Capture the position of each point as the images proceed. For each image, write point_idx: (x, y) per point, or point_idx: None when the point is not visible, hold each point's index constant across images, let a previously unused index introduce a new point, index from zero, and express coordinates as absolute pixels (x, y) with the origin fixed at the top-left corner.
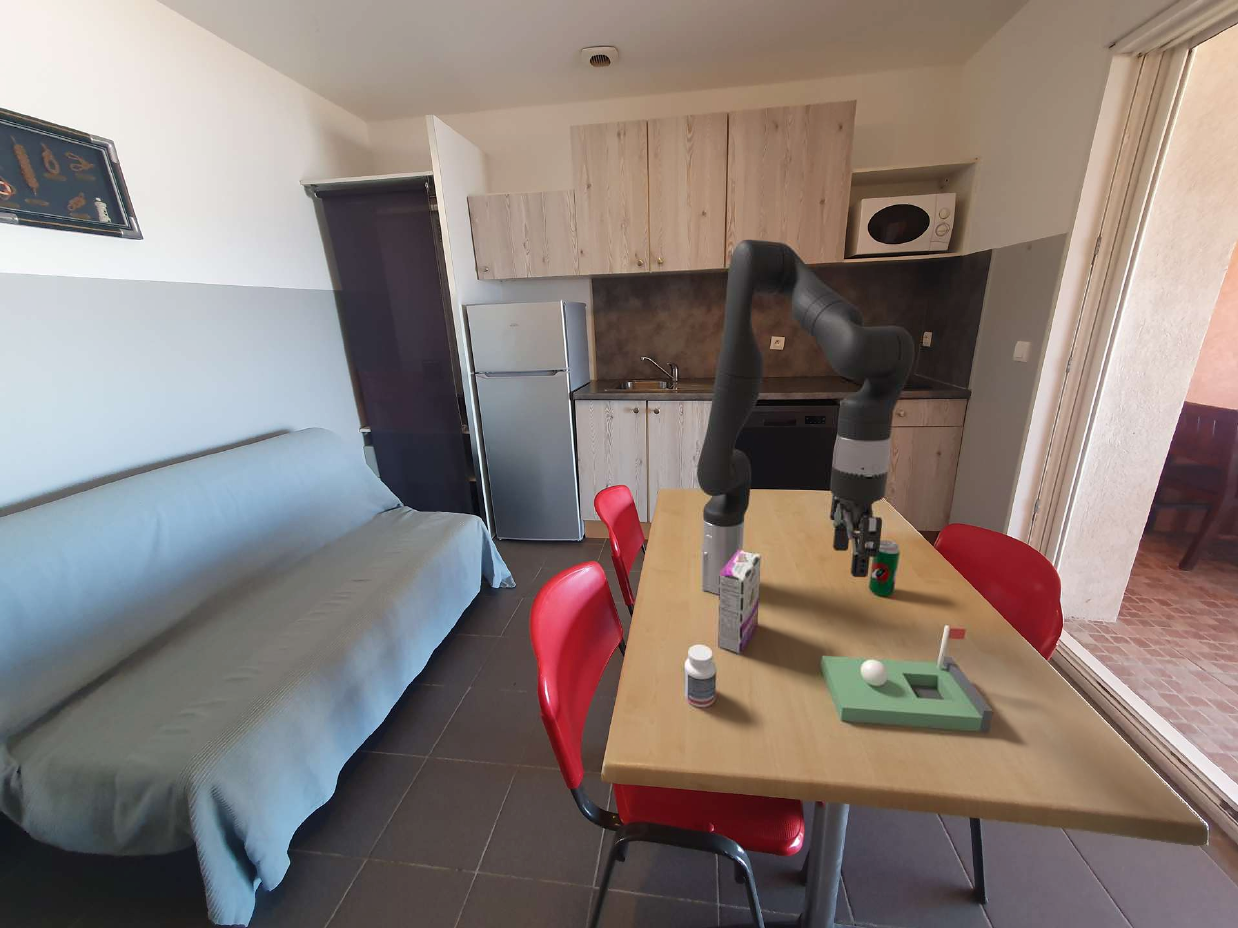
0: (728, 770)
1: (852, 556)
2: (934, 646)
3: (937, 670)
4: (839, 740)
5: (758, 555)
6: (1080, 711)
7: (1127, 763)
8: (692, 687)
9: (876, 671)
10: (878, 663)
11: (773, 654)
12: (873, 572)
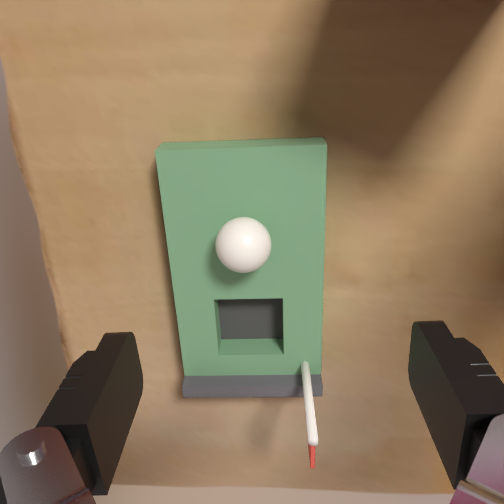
0: None
1: (94, 402)
2: (403, 378)
3: (298, 359)
4: (109, 126)
5: None
6: (257, 486)
7: (172, 482)
8: None
9: (221, 249)
10: (240, 262)
11: (369, 15)
12: None
